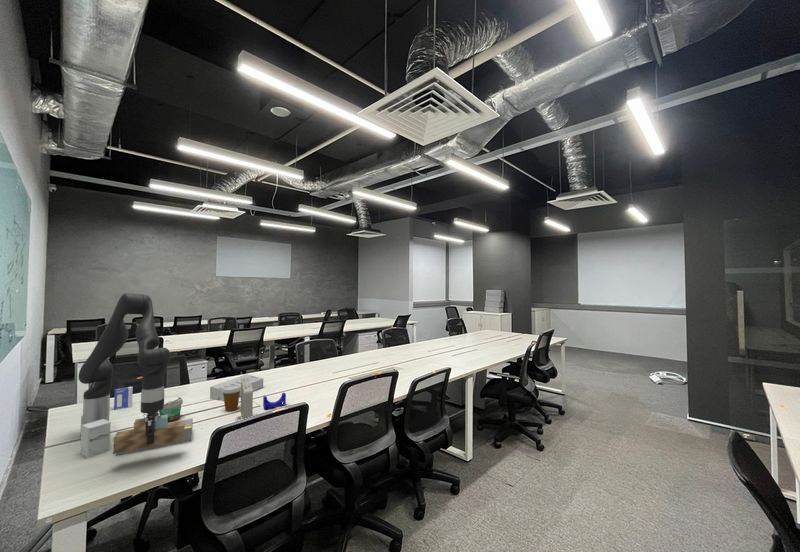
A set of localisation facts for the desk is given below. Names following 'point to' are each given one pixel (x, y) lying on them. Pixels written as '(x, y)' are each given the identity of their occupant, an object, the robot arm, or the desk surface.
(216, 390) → the warehouse
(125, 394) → the walkman
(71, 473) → the desk surface
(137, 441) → the brown stepped block
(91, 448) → the supplement box
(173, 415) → the food container
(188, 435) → the block
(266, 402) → the blue arch block
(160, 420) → the crate teal
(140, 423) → the crate kraft
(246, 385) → the network device
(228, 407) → the disposable coffee cup
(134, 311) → the robot arm
